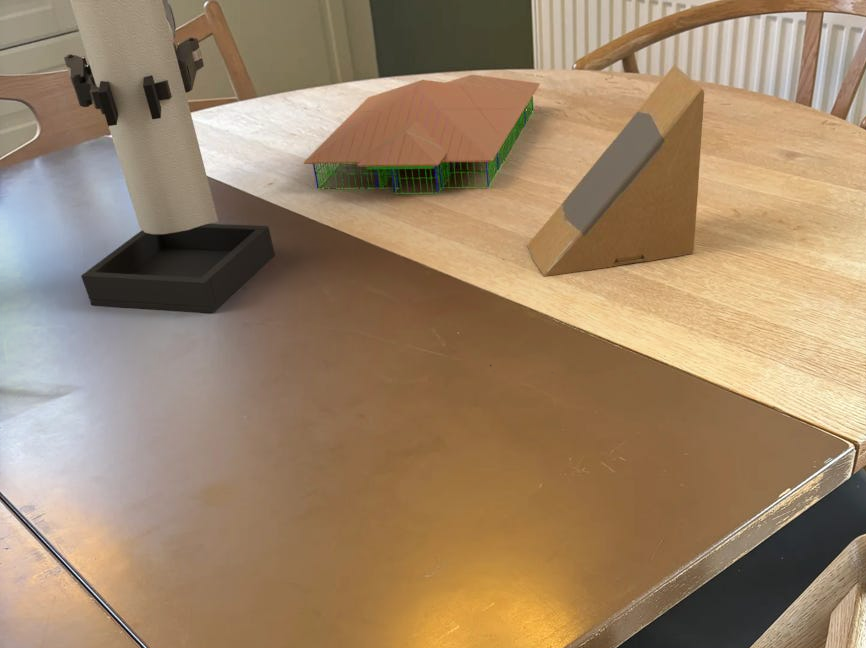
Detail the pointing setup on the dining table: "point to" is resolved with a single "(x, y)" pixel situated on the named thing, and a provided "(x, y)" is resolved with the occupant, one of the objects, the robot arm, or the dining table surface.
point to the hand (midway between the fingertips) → (129, 105)
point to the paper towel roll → (147, 113)
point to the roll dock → (180, 268)
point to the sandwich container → (633, 190)
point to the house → (429, 129)
